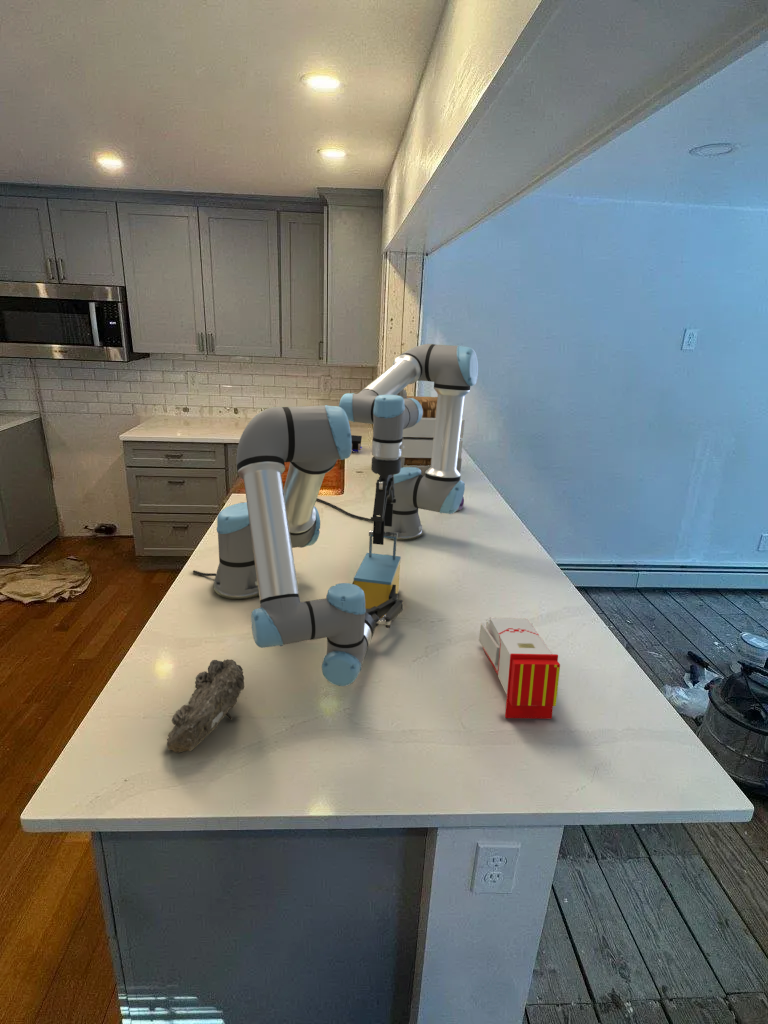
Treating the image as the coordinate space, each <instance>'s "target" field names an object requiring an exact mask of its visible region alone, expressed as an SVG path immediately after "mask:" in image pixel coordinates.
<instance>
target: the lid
mask: <svg viewBox="0 0 768 1024" xmlns="http://www.w3.org/2000/svg"><path fill="white" fill-rule="evenodd" d="M397 536H398V533H392V532H384V539H389V540H393V546H392V555H391V554H382V553H375V552H373V529H369V531H368V537H369V538H368V539H369V541H368V552H366V554H365V556H364V557H363V559H362V561H361V563H360V565H359V567H358V569H357V571H356V573H355V574H354V577H353V581H362V582H370V583H379V584H387V585H391V584H392V581H393V578H394V576H395V573H396V570H397V567H398V565H399V562H400V563H401V559H402V556H401V555H400V556H399V555H397V541H398V540H397Z"/></svg>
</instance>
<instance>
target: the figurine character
mask: <svg viewBox="0 0 768 1024" xmlns="http://www.w3.org/2000/svg"><path fill="white" fill-rule="evenodd" d="M351 439H352V449H351V454H353V453H357V454H359V451H361V449H362V448H363V446H362V439H363V436H362V435H353V434H351Z"/></svg>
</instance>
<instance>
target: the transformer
mask: <svg viewBox="0 0 768 1024" xmlns="http://www.w3.org/2000/svg"><path fill="white" fill-rule="evenodd" d="M407 394H408V393H407V390H406V389H405V388H404V389H403V390H402V391H400V392H399V393H398V394H397V395H398V396H401V397H403V399H404V398H413V399H416V400H417V401H418V402H419V403H420V404H421V406H422V409H423V415H422V418H421V420H420V421H419V422H418V423H417V424H415V425H414V426H412V427H410V428H406V429H403V436H402V444H401V445H403V446H404V449H401V456H400V457H399V458H400V459H401V468H403V467H405V466H406V467H417V466H418V467H431V458H432V448H433V437H434V427H435V417H436V407H437V397H438V396H415V395H414V396H413V395H412V396H411V395H407ZM464 429H465V419H464V418H462V423H461V432H460V441H459V450H458V459H457V468H456V469H457V471H458V472H459V473H460V475H461V472H462V461H463V460H462V453H463V442H464V441H463V440H462V439H463V438H464V431H465V430H464Z"/></svg>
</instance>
